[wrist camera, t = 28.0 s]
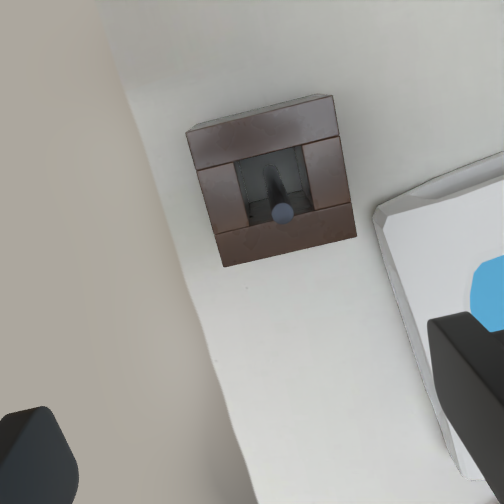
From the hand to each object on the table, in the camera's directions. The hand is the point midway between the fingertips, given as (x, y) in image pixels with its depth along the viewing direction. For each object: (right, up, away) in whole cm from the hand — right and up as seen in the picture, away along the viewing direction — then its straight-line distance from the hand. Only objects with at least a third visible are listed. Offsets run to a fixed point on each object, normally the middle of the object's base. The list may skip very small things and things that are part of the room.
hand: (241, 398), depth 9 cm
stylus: (+2, +10, +28) cm, 30 cm away
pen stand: (+2, +10, +28) cm, 30 cm away
